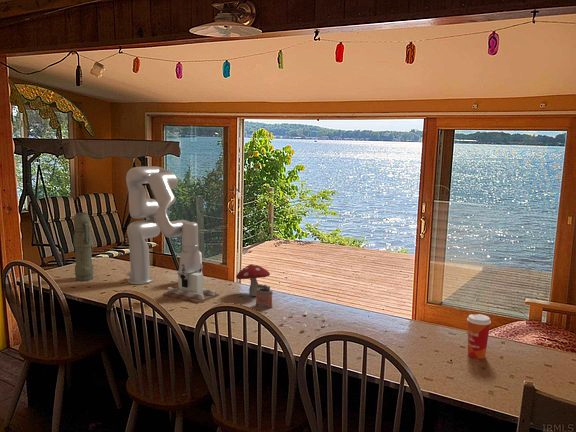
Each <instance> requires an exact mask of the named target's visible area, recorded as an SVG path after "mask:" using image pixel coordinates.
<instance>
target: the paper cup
mask: <svg viewBox="0 0 576 432" xmlns="http://www.w3.org/2000/svg"><path fill="white" fill-rule="evenodd" d="M466 321H467V356H468V357H470V358H472V359H473V360H474V359H475V360H483V359H485V358H486V354H487V348H488V340H489V332H490V326H491V325H490V324H491V323H492V322H491V319H490V317H489V316H488V315H485V314H481V313H478V314H477V313H474V314H472V313H471V314H469V315H468V317H467V318H466Z"/></svg>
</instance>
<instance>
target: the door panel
mask: <svg viewBox="0 0 576 432" xmlns="http://www.w3.org/2000/svg"><path fill="white" fill-rule="evenodd" d="M177 275H178V274H177ZM184 276H185V274H184ZM177 277H178V280H177V281H178V282H177V284H178V288H179V289H180V290H184V291H189V292H193V293H198V294H202V295H203V289H204V273H202V274H201V273H196V272H193V273H189V274H188V276H187V279H188V287H187V288H185V287H182V279H181V277H180V276H179V275H178V276H177Z"/></svg>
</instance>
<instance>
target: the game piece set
mask: <svg viewBox="0 0 576 432" xmlns="http://www.w3.org/2000/svg"><path fill="white" fill-rule="evenodd" d="M295 313H296V312H295V311H290V317H293V318H294V317H295ZM307 315H308V312H307V310H306V309H304V311H303V316H307ZM315 318H320V314H319V312H316V313H315ZM327 319H328V318H327V316H326V313H325V312H323V320H324V322H323V324H322V326H323V327H328V325H329V323H327ZM286 320H287V318H286V317H285V316H283V317H281V321H280V322H281V325H285V321H286ZM317 323H319V320H317ZM287 327H289V328H288V330H289V329H290V330H293V329H294V328H293V327H292V326H289V325H288V324H287ZM301 328H302V331H303V332H305V331H306V330H307V325H306V324H305V323H303V324H302V325H301ZM316 330H318V331H319V330H320V331H321V327H320V326H319V325H317V327H316Z"/></svg>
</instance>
